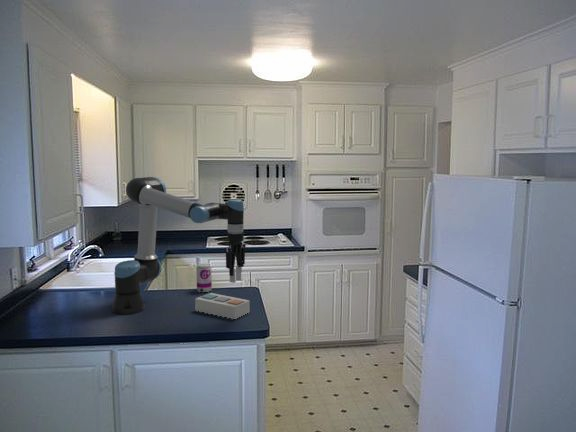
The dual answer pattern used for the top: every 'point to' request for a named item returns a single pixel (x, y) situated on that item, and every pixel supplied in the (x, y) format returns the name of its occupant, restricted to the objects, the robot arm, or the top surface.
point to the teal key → (209, 296)
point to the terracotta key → (235, 302)
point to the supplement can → (204, 278)
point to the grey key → (222, 299)
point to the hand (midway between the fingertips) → (235, 281)
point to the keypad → (222, 307)
